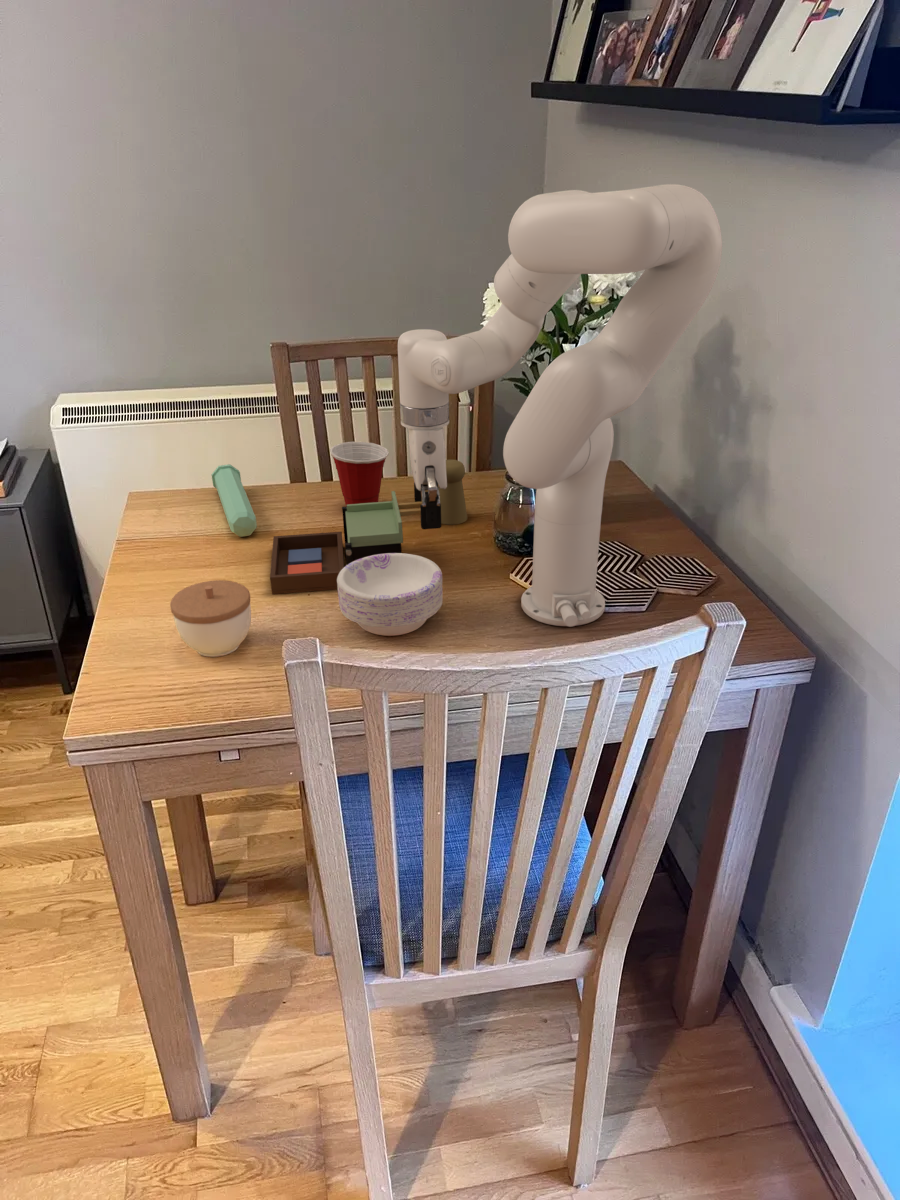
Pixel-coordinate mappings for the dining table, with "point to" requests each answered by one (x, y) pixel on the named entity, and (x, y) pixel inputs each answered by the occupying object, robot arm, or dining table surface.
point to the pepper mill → (453, 495)
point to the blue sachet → (305, 556)
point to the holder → (313, 580)
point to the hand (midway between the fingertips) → (427, 516)
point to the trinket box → (212, 616)
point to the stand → (365, 551)
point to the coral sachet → (304, 568)
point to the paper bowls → (390, 592)
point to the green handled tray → (378, 521)
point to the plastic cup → (359, 470)
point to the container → (234, 500)
